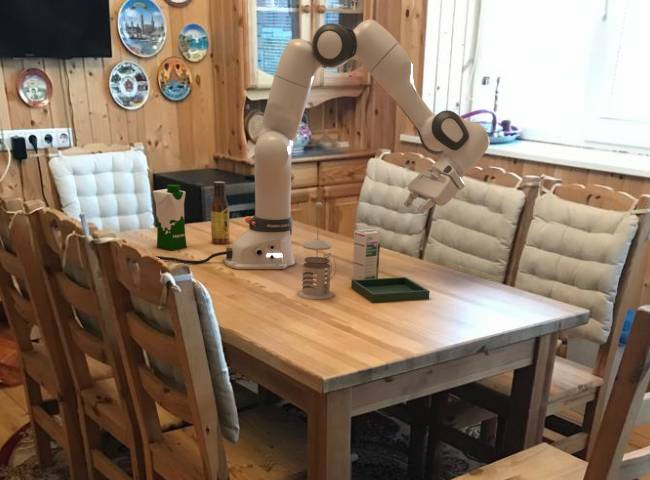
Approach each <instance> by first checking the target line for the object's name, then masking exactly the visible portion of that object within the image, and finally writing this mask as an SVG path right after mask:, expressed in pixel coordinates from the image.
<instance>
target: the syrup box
mask: <svg viewBox="0 0 650 480" xmlns="http://www.w3.org/2000/svg"><path fill="white" fill-rule="evenodd" d="M381 234H382V232H381V231H379V230H378V229H377V230H376V229H372V228H366V229H358V230H356V229H355V230H354V232H353V255H352V256H353V257H352V280H362V279H379V267H380V252H381V251H380V250H381V237H382V236H381Z"/></svg>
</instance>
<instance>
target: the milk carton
mask: <svg viewBox="0 0 650 480" xmlns="http://www.w3.org/2000/svg"><path fill="white" fill-rule="evenodd" d="M180 187H181V186H180V184H175V183H173V184H172V183H171V184H167V185H166V188H164V189H157V190H152V194H153V196H152V197H153V199H154V203H155V215H156V230H157V231H156V233H157V234H156V248H159V249H164V250H168V251H175V250H180V249H186V248H187V247H188V246H187V237H186V225H185V224H186V223H185V222H186V221H185V199H186V194H187V193H186V191H184V190H181V188H180Z"/></svg>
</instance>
